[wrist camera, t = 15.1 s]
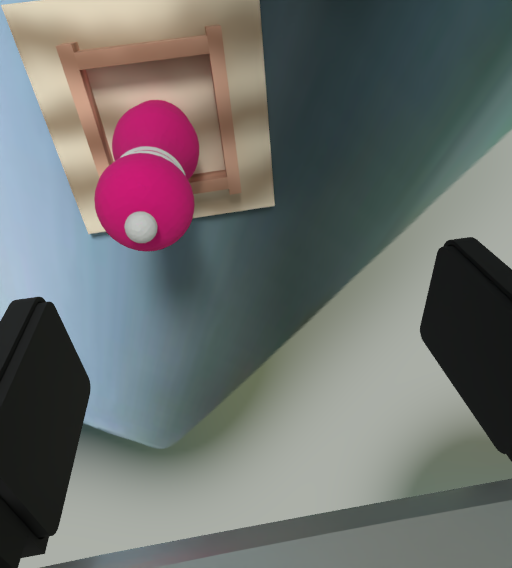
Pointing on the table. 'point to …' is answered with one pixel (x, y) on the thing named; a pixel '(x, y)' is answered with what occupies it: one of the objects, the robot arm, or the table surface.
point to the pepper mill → (149, 177)
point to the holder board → (152, 88)
